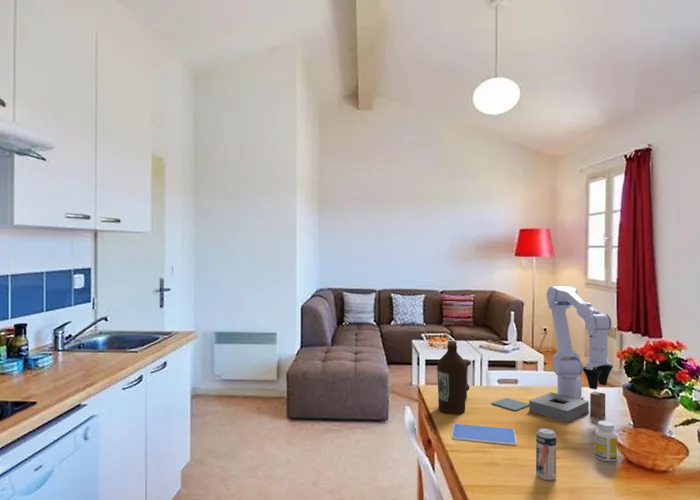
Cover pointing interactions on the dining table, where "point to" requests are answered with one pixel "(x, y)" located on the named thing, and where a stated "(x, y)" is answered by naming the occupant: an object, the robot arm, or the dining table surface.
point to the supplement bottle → (606, 442)
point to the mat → (510, 404)
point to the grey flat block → (559, 406)
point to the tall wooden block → (597, 405)
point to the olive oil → (452, 381)
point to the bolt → (466, 379)
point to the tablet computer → (484, 434)
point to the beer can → (546, 454)
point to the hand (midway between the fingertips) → (597, 386)
